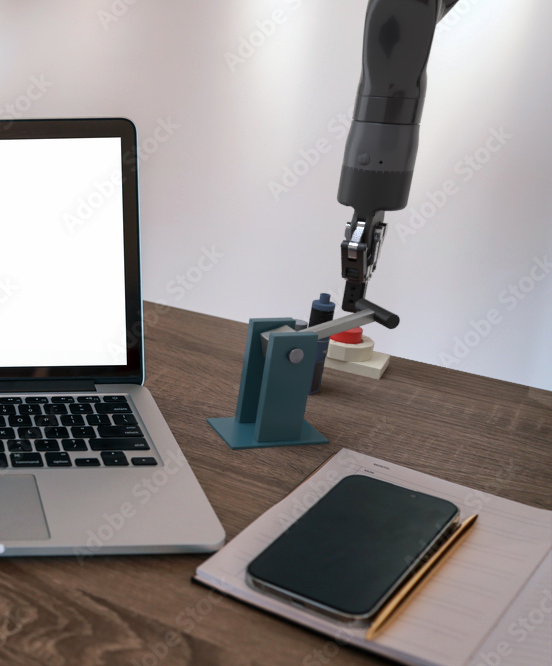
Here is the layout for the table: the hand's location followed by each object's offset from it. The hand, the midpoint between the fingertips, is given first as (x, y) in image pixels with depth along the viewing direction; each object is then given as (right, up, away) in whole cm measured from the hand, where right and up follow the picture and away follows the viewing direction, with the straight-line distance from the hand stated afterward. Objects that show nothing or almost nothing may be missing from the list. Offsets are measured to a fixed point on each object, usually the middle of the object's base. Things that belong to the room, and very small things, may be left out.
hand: (351, 310), depth 92 cm
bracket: (-15, -13, -17) cm, 26 cm away
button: (-1, -4, +1) cm, 4 cm away
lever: (-10, -3, -19) cm, 22 cm away
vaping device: (-8, -10, -6) cm, 14 cm away
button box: (-1, -7, +2) cm, 7 cm away
